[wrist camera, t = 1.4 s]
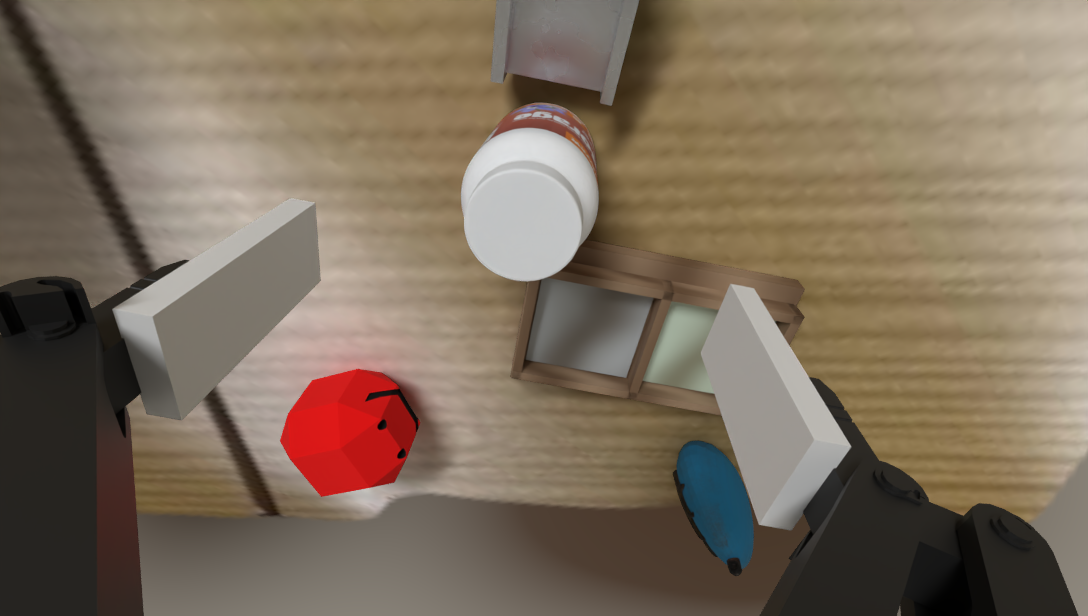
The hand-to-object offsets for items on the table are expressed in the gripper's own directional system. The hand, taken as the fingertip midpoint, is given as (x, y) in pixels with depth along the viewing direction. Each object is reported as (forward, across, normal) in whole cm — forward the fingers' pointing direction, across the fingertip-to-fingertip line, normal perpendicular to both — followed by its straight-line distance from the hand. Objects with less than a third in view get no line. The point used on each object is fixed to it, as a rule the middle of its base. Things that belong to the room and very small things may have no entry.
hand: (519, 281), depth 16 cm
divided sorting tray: (+15, +8, -10) cm, 20 cm away
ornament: (+16, +17, -21) cm, 31 cm away
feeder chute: (+15, 0, +8) cm, 17 cm away
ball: (+15, -10, -21) cm, 28 cm away
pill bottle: (+15, 0, 0) cm, 15 cm away
